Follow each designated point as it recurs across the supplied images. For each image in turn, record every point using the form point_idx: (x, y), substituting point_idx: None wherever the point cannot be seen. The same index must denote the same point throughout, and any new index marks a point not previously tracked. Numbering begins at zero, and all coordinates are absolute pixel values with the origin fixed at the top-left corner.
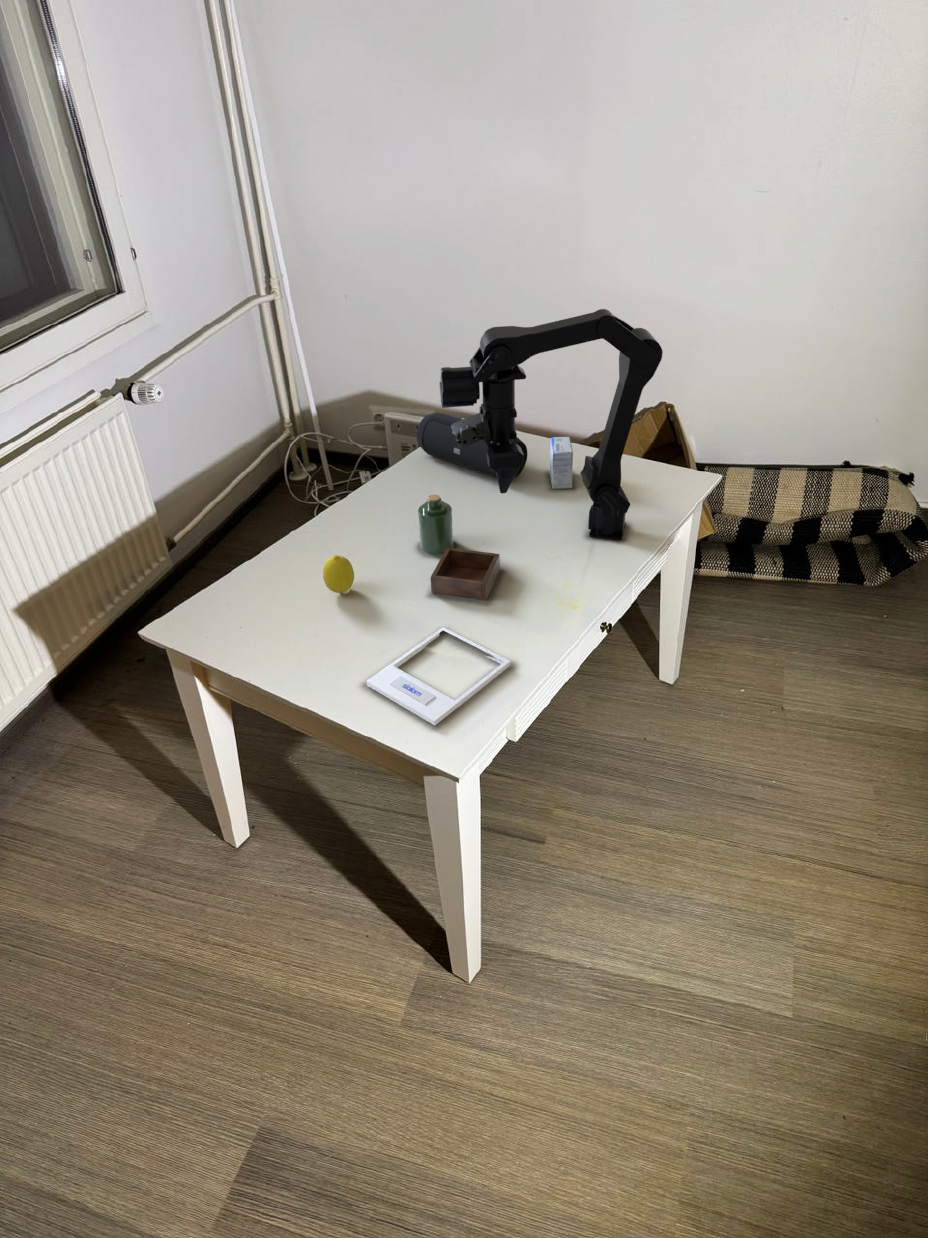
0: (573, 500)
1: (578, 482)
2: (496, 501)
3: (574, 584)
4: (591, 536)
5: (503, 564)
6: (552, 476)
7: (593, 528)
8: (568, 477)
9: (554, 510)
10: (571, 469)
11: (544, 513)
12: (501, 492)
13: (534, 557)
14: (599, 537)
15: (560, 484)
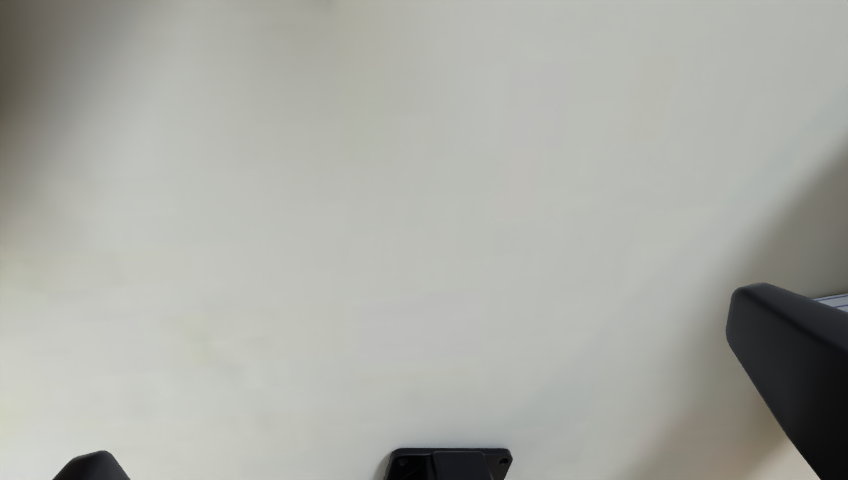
0: (677, 373)
1: None
2: (780, 56)
3: (4, 442)
4: (390, 457)
5: (86, 138)
6: None
7: (423, 475)
8: None
9: (618, 321)
10: None
11: (602, 287)
12: (68, 475)
13: (201, 282)
14: (385, 477)
15: None
